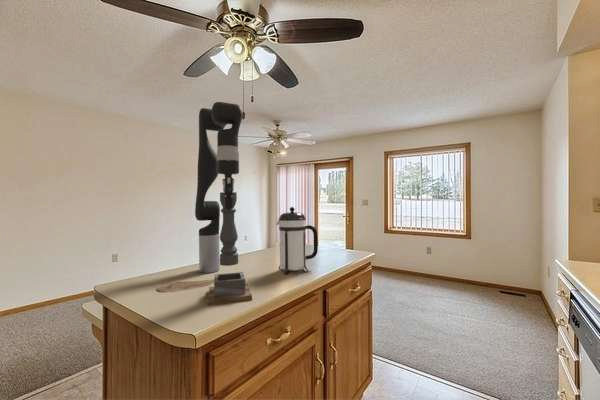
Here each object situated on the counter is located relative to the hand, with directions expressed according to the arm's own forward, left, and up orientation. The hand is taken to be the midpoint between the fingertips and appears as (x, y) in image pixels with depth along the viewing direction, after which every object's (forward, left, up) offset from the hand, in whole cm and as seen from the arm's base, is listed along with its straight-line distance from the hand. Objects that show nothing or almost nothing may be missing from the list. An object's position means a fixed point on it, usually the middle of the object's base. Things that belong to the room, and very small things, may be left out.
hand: (228, 208), depth 97 cm
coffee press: (-26, +31, -31) cm, 51 cm away
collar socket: (0, 0, -31) cm, 31 cm away
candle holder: (0, 0, -20) cm, 20 cm away
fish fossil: (-17, -13, -31) cm, 38 cm away
